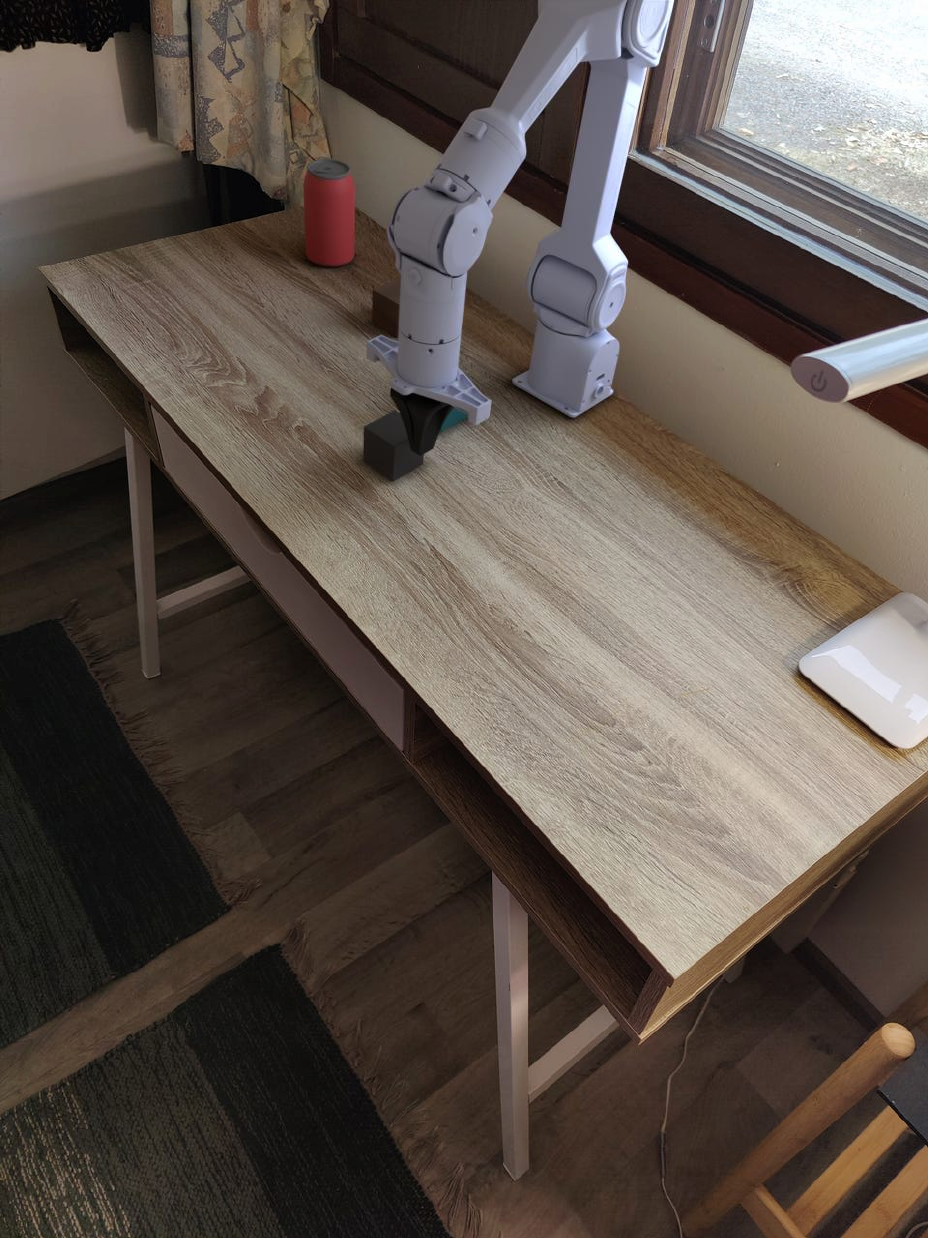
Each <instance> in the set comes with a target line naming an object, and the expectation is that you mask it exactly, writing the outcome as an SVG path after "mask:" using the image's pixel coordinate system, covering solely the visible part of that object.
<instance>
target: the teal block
mask: <svg viewBox="0 0 928 1238" xmlns="http://www.w3.org/2000/svg"><path fill="white" fill-rule="evenodd" d="M465 419H468V415H466V414H465V413H463V412H462V411H460V410H458V409H457V408H455V407H454V408H453V409H452V411H451V412H450V413H449V415H448V416H447V418H446V420H445V421H444V423H443V425H442V427H441V430H440V432H439V433H442V432H444V431H446V430H448V429H449V428H451V427H453V426H455V425H456V424H458V423H460V422H462V421H464V420H465Z"/></svg>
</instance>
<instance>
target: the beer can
mask: <svg viewBox="0 0 928 1238" xmlns="http://www.w3.org/2000/svg"><path fill="white" fill-rule="evenodd" d="M351 172H352V169H351V166H349V165H348V163H346V162H344V161H342V160H339V159H334V158H333V159H332V158H321V159H315V160H312V161H311V162H309V163H308V164H307V165H306V173H305V175H304V178H303V184H302V185H303V205H304V206H303V210H304V211H303V212H304V213H303V214H304V215H303V216H304V244H305V256H306V258H307V259H308V260H309V261H310V262H312V263H313V264H315V265H318V266H319V267H323V268H325V267H327V268H338V267H343V266H345V265H348V264H349V263H351V262H352V261H353V259H354V257H355V244H356V243H355V237H356V236H355V235H356V232H355V230H356V229H355V228H356V227H355V226H356V225H355V223H356V221H355V219H356V217H355V216H356V187H355V181H354V178H353V175H352V173H351Z"/></svg>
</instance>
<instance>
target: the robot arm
mask: <svg viewBox="0 0 928 1238" xmlns="http://www.w3.org/2000/svg"><path fill="white" fill-rule="evenodd" d="M674 2H675V0H537V16H538V18H537V20H536V22H535V23H534V25H533V27H532V29H531V31H530V33H529V35H528V36H527V38H526V40H525V42H524V44H523V46H522V48H521V49H520V51H519V53H518V55H517V57H516V59H515V61H514V63H513V65H512V66H511V68H510V70H509V72H508V74H507V75H506V77H505V79H504V81H503V83H502V85H501V87H500V88H499V90H498V92H497V95H496V96H495V98H494V100H493V102H492V103H491V106H490V107H485V108H479V109H475V110H473V111H471V112H469V114H468V116H467V117H466V119H465V121H464V122H463V124H462V125H461V126H460V128H459V129H458V132H457V133H456V135H455V136H454V137H453V139H452V141H451V142H450V144H449V145H448V147H447V148H446V150H445V152H444V153H443V155H442V156H441V157H440V159H439V161H438V162H437V164H436V165H435V167H434V169H433V170H432V171H431V173H430V174H429V176H428V178H427V179H426V180H425V182H424V184H420V185H417V186H416V187H413V188H410V189H408V190H407V191H405V192H404V193H403V194H402V195H401V196H400V197H399V198H398V200H397V202H396V204H395V205H394V207H393V211H392V214H391V217H390V223H389V225H387V227H386V236H387V240H388V244H389V246H390V247H391V249H392V250H393V252H394V254H395V269H397V272H398V273H399V275H400V279H401V285H400V310H399V336H398V337H397V339H398V341H396V340H394V339H392V338H389V337H387V336H385V335H383V334H379V335H378V336H375V337H373V338H371V339H369V340H367V341H366V359H367V360H368V361H370V362H371V363H377V362H380V363H382V364H383V366H384V367H385V369H386V370H387V371H388V373H390V375H391V376H392V377H393V379H391V386H390V387H391V388H390V389H389V397H390V398H391V400H392V401H393V403H394V404H395V406H396V408H397V410H398V412H399V413H400V414H401V417H402V419H403V422H404V425H405V429H406V432H407V436H408V440H409V445H410V448H411V450H412V451H413V452H415V453H416V454H418V455H419V456H421V455H423V454H424V455H425V454H426V453H429V452H430V451H432V450H433V449H435V445H436V442H437V440H438V436H439V435H440V433H441V432H440V430H441V427H442V425H443V423H444V421H445V420H446V418H447V416H448V415H449V413H450V412H451V411H452V409H453V408H454V407H455V408H457V409H458V410H460V411H462V412H463V413H465V414H466V415H468V417H467V422H469V423H470V424H473V425H474V426H478V425H479V424H481V423H484V422H485V421H487V420H489V418H491V417H490V416H491V409H492V402H493V401H492V399H490V398H488V397H487V396H485V395H484V394H483V393H482V392H481V391H480V390H479V389H478V388H477V386H476V385H475V384H474V383H473V382H472V380H471V379H470V378H469V377H468V376H467V375H466V374H465V373H464V372H463V370H462V369H461V368H460V367H459V366H460V365H459V364H460V363H459V362H460V353H461V345H462V344H461V342H462V332H463V320H464V310H465V300H466V289H467V279H468V271H469V270H470V269H471V268H472V267H473V265H474V264H475V263H476V261H478V259H479V258H480V256H481V254H482V252H483V249H484V246H485V244H486V239H487V233H488V232H489V231H488V230H489V228H490V226H491V225H492V221H493V218H494V215H493V212H492V210H493V208H494V206H495V205H496V203H497V202H498V201H499V199H500V197H501V196H502V194H503V193H504V191H505V190H506V189H507V186H508V185H509V183H510V182H511V180H512V179H513V178H514V175H515V174H516V172H517V171H518V169H520V166H521V165H522V163H523V162H524V160H525V159H526V156H527V145H526V137H525V136H526V132H527V131H528V130H529V129H530V128H531V126H532V125H533V123H534V122H535V121H536V119H537V118H538V117H539V116H540V114H541V113H542V112H543V111H544V109H545V108H546V107H547V106H548V104H549V103H550V101H551V100H552V99H553V98H554V96H555V95H556V94H557V92H558V91H559V90H560V88H561V87H562V86H563V84H564V83H565V82H566V81H567V80H568V78H569V77H570V75H571V74H572V73H573V71H575V69H576V68H577V67H578V65H579V64H580V63H583V62H584V63H585V62H588V63H589V64H590V74H589V79H588V84H587V90H586V93H585V99H584V105H583V111H582V115H581V121H580V127H579V132H578V135H577V136H578V137H577V142H576V147H575V152H574V157H573V163H572V168H571V172H570V173H571V174H570V178H569V179H570V180H569V185H568V190H567V194H566V200H565V206H564V211H563V215H562V221H561V226H560V227H559V228H557V229H554V230H553V231H551V232H549V233H547V234H546V235H544V236H543V237H542V238H541V239H540V240H539V242H538V244H537V248H536V253H535V255H534V258H533V260H532V262H531V264H530V267H529V269H528V272H527V275H526V280H525V281H526V282H525V287H526V295H527V298H528V299H529V301H531V302H532V303H533V309H532V313H534V314H535V315H537V318H536V319H537V320H536V325H535V331H534V338H533V343H532V344H533V345H532V350H531V351H532V352H531V356H530V363H529V368H528V370H526V371H524V372H523V373H521V374H519V375H517V376H516V377H513V378H512V381H511V383H512V384H513V385H514V386H516V387H517V388H519V389H521V390H523V391H525V392H526V393H527V394H530V395H531V396H533V397H535V398H537V399H539V400H540V401H542V402H544V403H545V404H547V405H549V406H551V407H552V408H554V409H555V410H558V411H559V412H561V413H563V414H564V415H566V416H568V417H569V418H577V417H579V416H580V415H581V414H583V413H584V412H585V413H586V411H588V410H589V409H591V408H593V407H594V406H596V405H597V404H599V403H601V402H602V401H605V399H607V398H608V397H610V396H613V393H614V389H613V388H612V384H613V381H614V376H615V371H616V367H617V363H618V360H619V354H620V342H619V340H618V339H617V338H615V337H614V336H613V335H612V334H611V333H610V332H609V331H608V330H607V328H608V327H610V326H611V325H612V324H613V323H614V322H615V320H616V319H617V317H618V316H619V314H620V312H621V311H622V308H623V306H624V303H625V299H626V294H627V285H626V280H627V279H626V278H627V272H628V265H629V260H628V259H627V257H626V255H625V254H624V252H623V250H621V248H620V246H619V245H618V244H617V242H616V241H615V239H614V238H613V236H612V234H611V230H612V226H613V222H614V221H613V220H614V216H615V211H616V208H617V204H618V199H619V194H620V189H621V185H622V181H623V177H624V173H625V169H626V168H625V167H626V163H627V161H628V160H627V159H628V155H629V150H630V146H631V141H632V137H633V133H634V128H635V123H636V120H637V115H638V110H639V106H640V102H641V97H642V94H643V93H642V92H643V88H644V84H645V79H646V76H647V72H648V68H655V67H657V66H659V64H660V59H661V56H662V52H663V50H664V45H665V42H666V37H667V33H668V28H669V25H670V20H671V17H672V11H673V7H674V4H675V3H674Z"/></svg>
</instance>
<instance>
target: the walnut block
mask: <svg viewBox="0 0 928 1238" xmlns="http://www.w3.org/2000/svg"><path fill="white" fill-rule="evenodd" d="M400 285H401V278H396V279H393V280H391V281H388V282H386V283H384V284H381V285H380V286H377V287H375V288H373V289H372V291H371V292H372V293H371V294H372V297H371V298H372V299H371V323H372V324H373V325H375V326H377V327H378V328H380V329H382V330H383V331H385V332H387V333H388V334H391V335H392V336H394V337H396V338H399V337H398V336H399V310H400Z"/></svg>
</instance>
